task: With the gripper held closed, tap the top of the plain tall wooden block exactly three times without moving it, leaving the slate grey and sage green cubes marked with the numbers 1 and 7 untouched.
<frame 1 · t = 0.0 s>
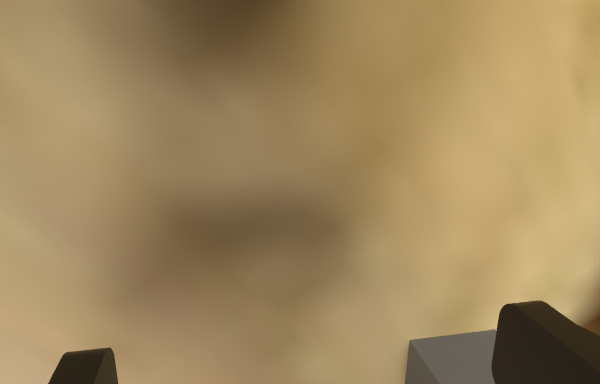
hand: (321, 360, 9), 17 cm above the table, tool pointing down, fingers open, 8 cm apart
slate numbered cube: (447, 371, 33), on the table
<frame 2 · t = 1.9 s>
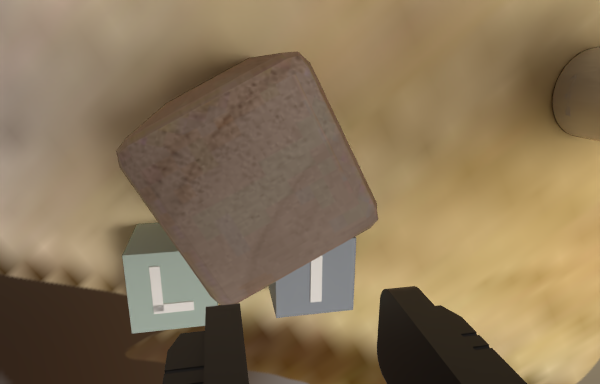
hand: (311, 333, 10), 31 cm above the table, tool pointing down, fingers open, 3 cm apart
slate numbered cube: (300, 245, 44), on the table
sage numbered cube: (178, 255, 41), on the table
wooden block: (236, 129, 39), on the table
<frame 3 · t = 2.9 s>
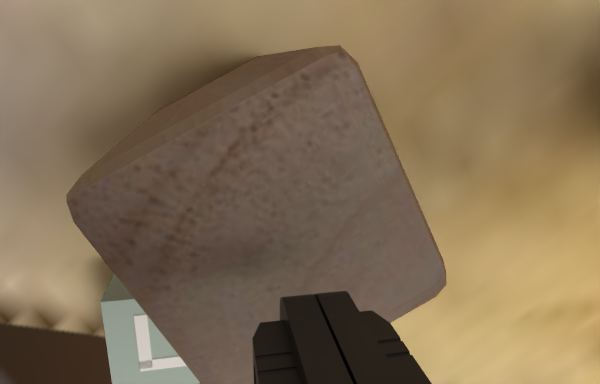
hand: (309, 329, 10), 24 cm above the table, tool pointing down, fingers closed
sage numbered cube: (173, 290, 35), on the table
wooden block: (241, 142, 33), on the table
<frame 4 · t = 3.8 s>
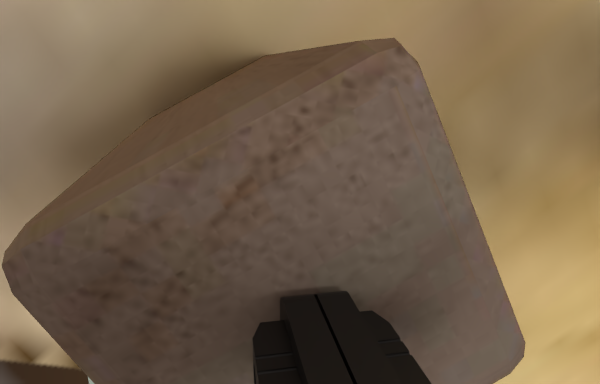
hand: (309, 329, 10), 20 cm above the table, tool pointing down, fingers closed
wooden block: (246, 153, 29), on the table, touching gripper
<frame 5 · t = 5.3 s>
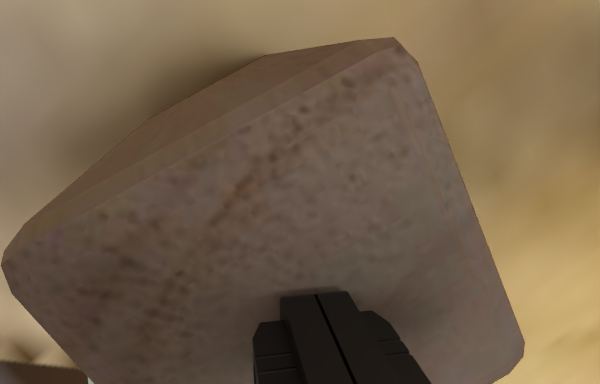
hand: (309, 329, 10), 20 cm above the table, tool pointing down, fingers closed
wooden block: (246, 153, 29), on the table, touching gripper
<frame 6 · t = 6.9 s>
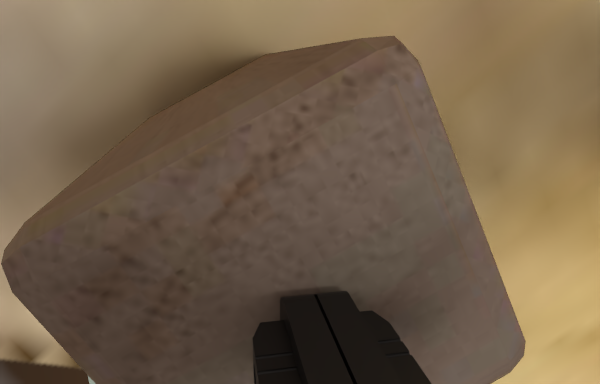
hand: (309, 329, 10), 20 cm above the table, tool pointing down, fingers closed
wooden block: (246, 152, 29), on the table, touching gripper
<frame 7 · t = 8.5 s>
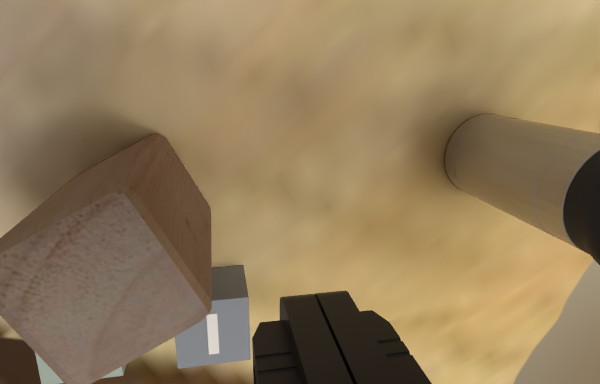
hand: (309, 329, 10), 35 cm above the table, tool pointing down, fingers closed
slate numbered cube: (212, 295, 47), on the table
sage numbered cube: (97, 306, 45), on the table
wooden block: (145, 195, 43), on the table
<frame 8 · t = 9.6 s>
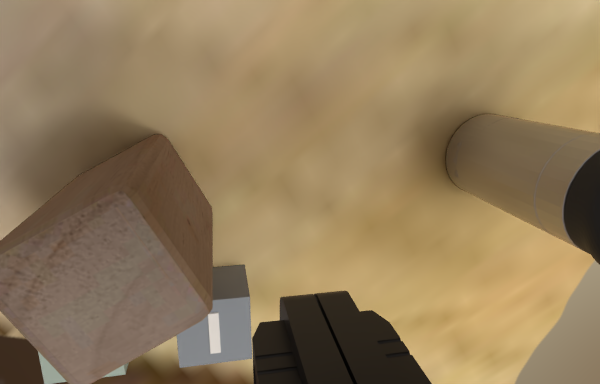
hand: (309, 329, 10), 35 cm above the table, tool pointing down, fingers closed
slate numbered cube: (214, 295, 48), on the table
sage numbered cube: (99, 306, 45), on the table
wooden block: (147, 195, 43), on the table
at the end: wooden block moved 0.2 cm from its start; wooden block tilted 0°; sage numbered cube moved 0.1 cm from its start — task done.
